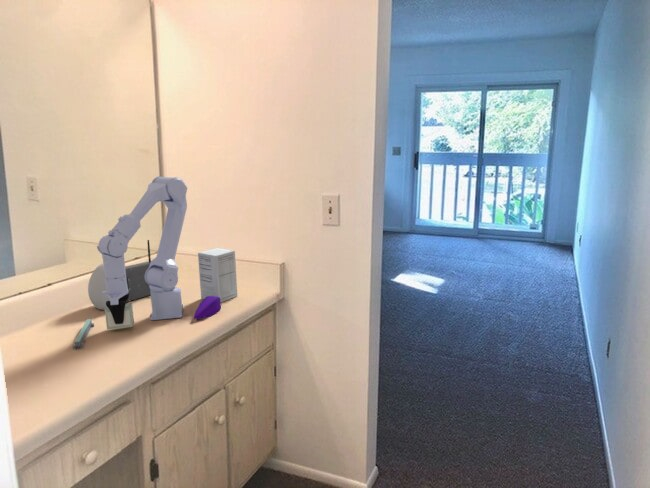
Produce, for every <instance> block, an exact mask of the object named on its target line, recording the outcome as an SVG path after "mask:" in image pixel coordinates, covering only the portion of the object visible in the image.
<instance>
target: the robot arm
mask: <svg viewBox="0 0 650 488" xmlns="http://www.w3.org/2000/svg"><path fill="white" fill-rule="evenodd" d="M146 189H147V190H146V191H145V193H143V196H142V197H141V198H140V199H139V201H137V204H136V205H135V207H134V208H133V209H132V211H131V212H130V213H129V214H124V215H123V216H120V217H118V219H117V220H118V221H117V223H116V224H115V225H114V226H113V227H112V229H110V230H108V231H107V233H108V234H107V235H105V236H104V235H103V236H102V237H101V238H100V239H99V241H98V245H96V249H97V251H98V252H99V253H100V254H101V256H102V264H103V265H104V274H105V283H106V291H103V292H102V295H107V297H108V298H109V299H110V301H106V306H107V307H108V308H109V310H110V312H111V314H112V316H113V319H114V322H115V324H123V321H124V310H125V305H126V304H128V301H127V300H128V297H129V295H130V294H129V293H128V289H127V280H126V270H125V266H126V263H125V262H126V261H125V253H126V252H127V251H128V245H129V242H130V240H132V238H133V237H134V236H135V234H136V233H137V232H138V231H139V229H140V228H141V227H142V225H141V220H143V218H144V217H146V215H147V214H148V213H149V212H150V210H152V208H154V206H155V205H156V204H157V203H159V202H163V203H164V205H165V206H166V207H167V210H166V211H167V213H166V216H165V221H164V223H163V224H164V225H163V228H162V233H161V237H160V240H159V244H158V250H157V253H156V257H155V258H153V259H152V260H151V263H150V266H149V268H148V269H147V271H146V272H145V281H146V283H147V284H149V288H150V292H151V295H150V303H151V304H150V305H151V315H150V321H158V320H159V321H161V320H167V319H168V320H170V319H179V318H182V317H183V311H184V304H183V301H182V290H181V287H178V286H177V285H178V282H179V276H178V271H179V267H178V264H177V263H176V260H175V259H176V256H177V255H176V254H177V250H178V246H179V243H180V239H181V234H182V231H183V226H184V222H185V216H186V212H187V209H188V204H187V202H188V201H187V191H188V187H187V185H186V183H185V182H184V180H183V179H182V178H180V177H179V176H178V177H177V176H175V177H168V176H161V175H159V176H156V177H154V178H153V179H152V181H151V182H150V183H149V184H148V185H147V188H146ZM176 286H177V287H176Z"/></svg>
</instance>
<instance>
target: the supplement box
mask: <svg viewBox="0 0 650 488" xmlns="http://www.w3.org/2000/svg"><path fill="white" fill-rule="evenodd" d="M197 259H198V260H197V261H198V262H197V263H198V274H199V285H200V286H199V287H200V297H201V300H204V299H205V298H206V297H207V296H216V297H220V300H221V303H223V302H225V301H228V300H231V299H234V298H237V297H238V284H237V283H238V282H237V281H238V280H237V265H236V251H235V250H232V249H226V248H220V247H216V248H212V249H207V250H204V251H200V252H198V253H197Z"/></svg>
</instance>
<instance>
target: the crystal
mask: <svg viewBox="0 0 650 488" xmlns="http://www.w3.org/2000/svg"><path fill="white" fill-rule="evenodd" d="M221 308H222V302H221V300H220V297H216V296H207V297H206V298H205V299H202V301H201V302H200V303H199V304H198V307H197V308H196V310H195V312H194V316H193V319H194V320H200V319H201V320H202V319H206V318H210V317H211V316H214V315H215V314H218V313H219V312H220V311H221Z"/></svg>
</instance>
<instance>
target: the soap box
mask: <svg viewBox="0 0 650 488" xmlns="http://www.w3.org/2000/svg"><path fill="white" fill-rule="evenodd" d="M104 314H105V323H106V330H116V329H123V328H124V329H126V328H132V327H134V323H135V320H134V310H133V303H127V304H126V305H125V310H124V321H123V324H115V322H114V319H113V316H112V314H111V312H110V310H109V308H108V307H107V306H106V309H105V310H104Z"/></svg>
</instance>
